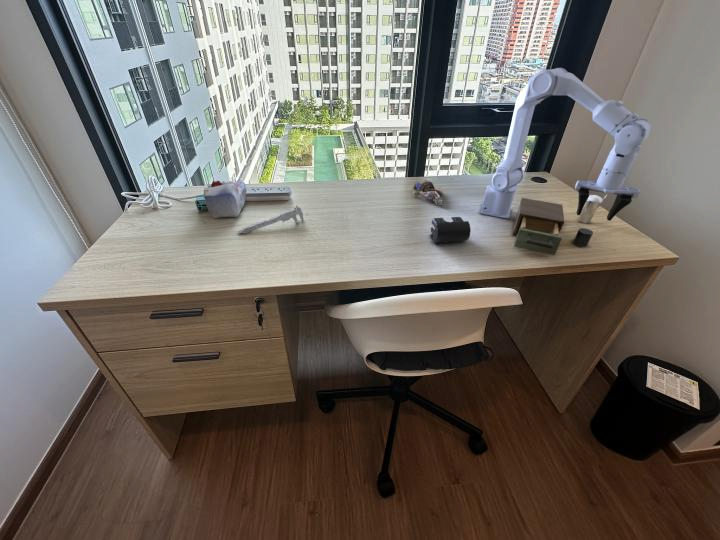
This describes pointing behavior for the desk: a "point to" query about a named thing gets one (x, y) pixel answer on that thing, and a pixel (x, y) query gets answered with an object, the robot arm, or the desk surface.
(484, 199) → the robot arm
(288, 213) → the caliper
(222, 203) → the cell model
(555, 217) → the cabinet
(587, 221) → the milkshake
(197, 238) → the desk surface
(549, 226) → the drawer
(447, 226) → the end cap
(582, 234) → the cylinder
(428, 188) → the warrior figurine
